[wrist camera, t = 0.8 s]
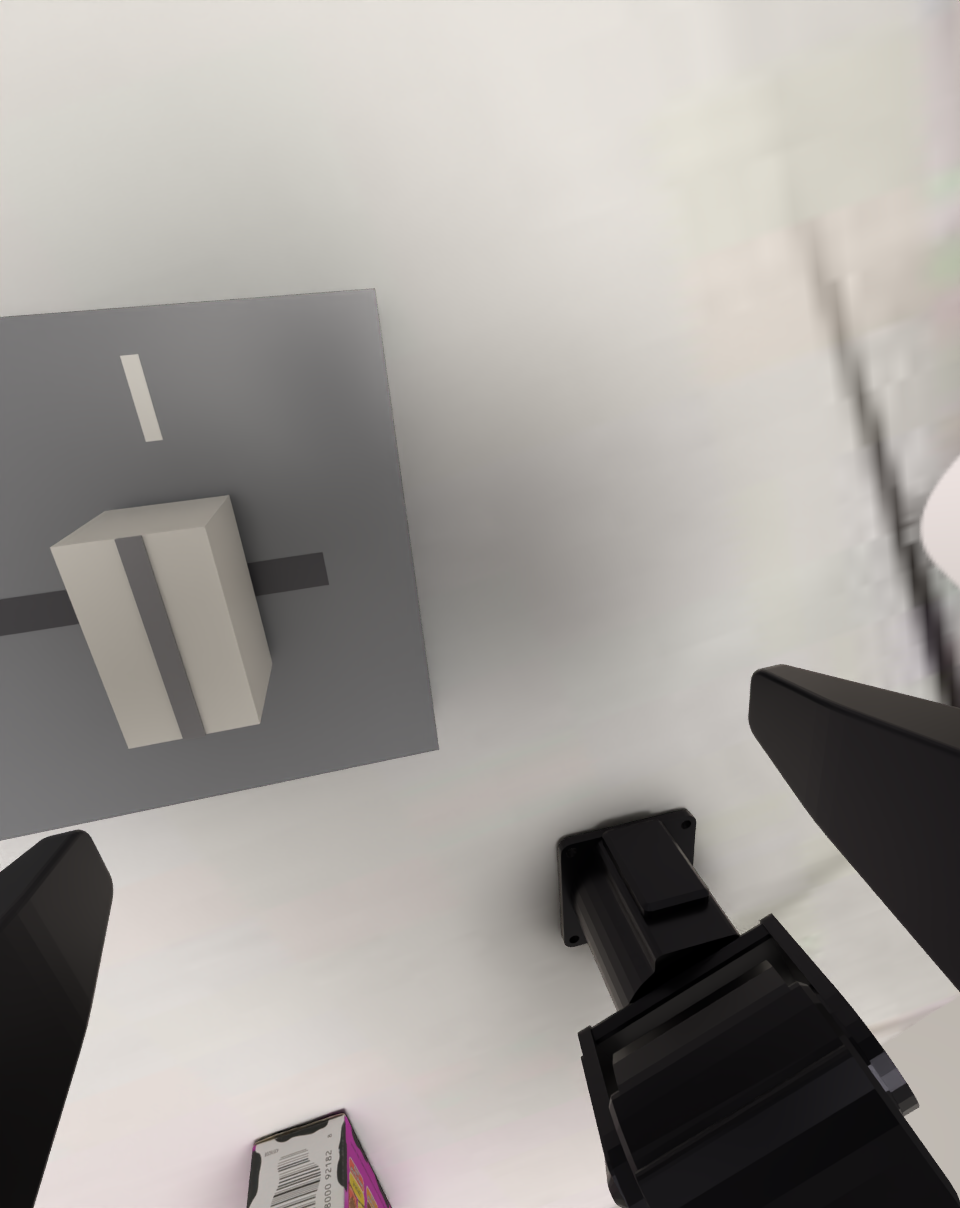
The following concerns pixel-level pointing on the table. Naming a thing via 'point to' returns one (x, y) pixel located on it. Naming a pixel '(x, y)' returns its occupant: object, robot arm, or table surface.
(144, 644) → the fader knob
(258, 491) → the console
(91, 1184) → the table surface
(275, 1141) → the candy bar box
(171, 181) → the table surface
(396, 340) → the table surface
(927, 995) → the table surface
